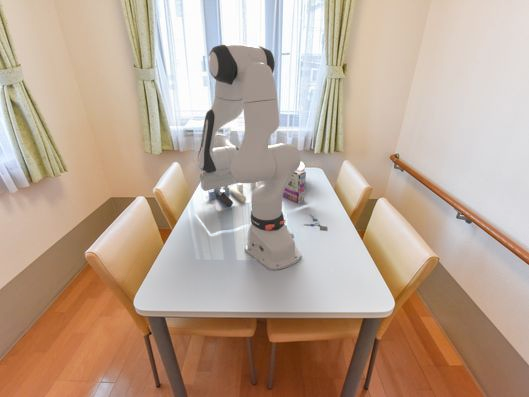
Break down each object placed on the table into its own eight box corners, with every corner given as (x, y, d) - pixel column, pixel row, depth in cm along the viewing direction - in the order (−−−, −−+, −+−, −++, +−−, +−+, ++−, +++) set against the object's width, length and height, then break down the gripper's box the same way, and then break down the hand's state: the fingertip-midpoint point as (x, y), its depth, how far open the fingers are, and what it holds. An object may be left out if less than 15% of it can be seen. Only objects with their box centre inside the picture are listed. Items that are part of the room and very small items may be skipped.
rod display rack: (269, 198, 138) (269, 189, 135) (219, 213, 125) (218, 203, 122) (252, 186, 151) (252, 177, 148) (205, 198, 138) (204, 188, 136)
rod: (246, 201, 133) (246, 195, 131) (240, 203, 131) (240, 197, 130) (234, 191, 143) (233, 185, 142) (228, 192, 142) (228, 187, 140)
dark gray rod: (233, 205, 128) (232, 199, 127) (226, 207, 127) (225, 201, 125) (219, 193, 140) (219, 187, 139) (213, 194, 139) (213, 188, 137)
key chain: (330, 230, 113) (330, 228, 113) (315, 235, 110) (315, 234, 109) (311, 215, 124) (311, 213, 124) (296, 219, 121) (296, 218, 120)
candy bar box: (304, 201, 135) (306, 171, 127) (297, 205, 132) (299, 174, 124) (288, 194, 142) (289, 165, 134) (281, 197, 139) (282, 168, 131)
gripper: (201, 174, 118) (205, 201, 124) (242, 166, 127) (243, 191, 134) (197, 170, 123) (200, 196, 129) (236, 162, 132) (238, 187, 138)
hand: (222, 194), depth 131 cm, fingers closed, pressing on dark gray rod
